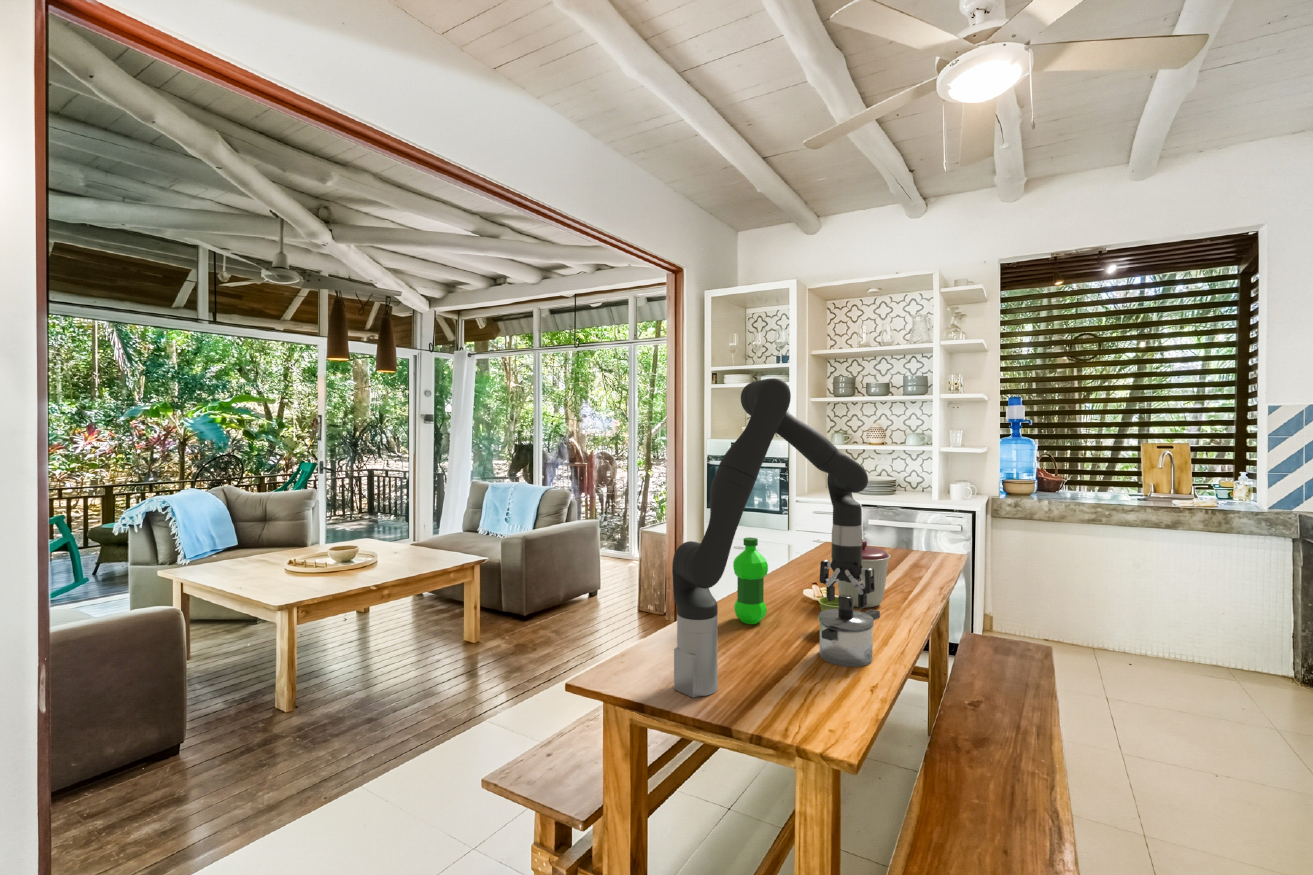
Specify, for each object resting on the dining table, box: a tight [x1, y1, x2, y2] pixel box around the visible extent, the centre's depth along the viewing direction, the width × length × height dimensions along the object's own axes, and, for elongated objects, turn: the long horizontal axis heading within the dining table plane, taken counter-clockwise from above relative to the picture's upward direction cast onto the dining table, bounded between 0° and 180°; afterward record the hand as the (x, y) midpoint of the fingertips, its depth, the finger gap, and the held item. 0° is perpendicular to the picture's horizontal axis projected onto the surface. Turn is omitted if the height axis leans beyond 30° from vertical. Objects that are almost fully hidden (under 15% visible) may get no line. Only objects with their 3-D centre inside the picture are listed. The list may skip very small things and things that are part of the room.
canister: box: [836, 539, 892, 609], centre depth 206 cm, size 18×18×21 cm
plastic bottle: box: [732, 537, 769, 625], centre depth 189 cm, size 10×10×25 cm
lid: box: [817, 594, 875, 631], centre depth 161 cm, size 14×14×6 cm
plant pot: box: [817, 596, 839, 612], centre depth 181 cm, size 9×9×9 cm
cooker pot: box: [819, 608, 881, 668], centre depth 164 cm, size 25×13×9 cm, turn 133°
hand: (846, 604), depth 161 cm, fingers open, 8 cm apart
